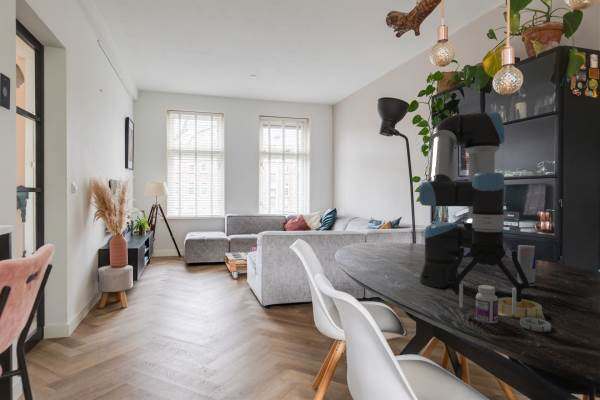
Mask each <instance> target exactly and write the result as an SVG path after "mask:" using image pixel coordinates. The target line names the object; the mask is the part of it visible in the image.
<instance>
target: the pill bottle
mask: <svg viewBox="0 0 600 400" xmlns="http://www.w3.org/2000/svg"><path fill="white" fill-rule="evenodd" d="M495 293H496V287H495V286H492V285H489V284H488V285H487V284H485V285H484V284H481V285H478V292H477V294H476V295H475V320H477V321H479V322H482V323H487V324H496V323H498V322H499V315H498V299H499V298H498V296H497V294H495Z"/></svg>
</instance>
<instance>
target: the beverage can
mask: <svg viewBox="0 0 600 400" xmlns="http://www.w3.org/2000/svg"><path fill="white" fill-rule="evenodd" d="M517 257H518V261H519V264H520V266H521V268H522V270H523V272H524V274H525V276H526V278H527V280H528V283H529V285H530V287H534V286H535V285H536V246H535V245H529V244H528V245H527V244H519V245H517ZM517 281H518V282H519V283H523V282H522V280H521V278H520V276H519V274H518V273H517Z"/></svg>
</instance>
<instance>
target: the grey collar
mask: <svg viewBox="0 0 600 400" xmlns="http://www.w3.org/2000/svg"><path fill="white" fill-rule="evenodd" d="M545 320H546V319H545ZM545 320H542V319H538V318H530V317H529V318H528V317H525V318H519V322H520V324H519V325H520V327H521V328H524V329H527V330H529V331H534V332H539V333H541V332H543V333H546V332H551V331H552V325H551V322H549V321H548V320H546V321H545Z"/></svg>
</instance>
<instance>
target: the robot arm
mask: <svg viewBox="0 0 600 400" xmlns="http://www.w3.org/2000/svg"><path fill="white" fill-rule="evenodd" d="M504 142H505V128H504V121H503V118H502V115H501V114H500V113H499V112H497V111H488V112H487V111H485V112H475V113H464V114H454V115H451V116H448V117H446V118H444V119H443V120H441V121H440V122H438V124H436V125H435V127H434V128H433V129H432V130H431V133H430V136H429V141H428V143H429V147H430V148H431V150H430V158H429V159H430V160H429V167H428V175H427V181H424V182H421V183H420V184H419V196H418V197H419V204H421V205H422V206H427V207H428V206H429V207H468V209H467V210H468V214H467V215H468V217H467V219H465V220H464V221H463V226H459V224H458V223H457V222H444V223H443V222H442V223H434V224H429V225H427V226H426V227H425V230H424V231H425V232H424V263H423V266H422V269H421V272H420V275H419V282H420V283H421V284H422V285H424V286H427V287H433V288H437V289H438V288H439V289H449V287H451V288H454V294H455V295H458V296H459V297H458V300H459V302H458V306H459V307H458V308H463V306H464V305H463V304H464V282H463V279H464V278H465V277H466V276H467V275H468V274H469V273H470V271H471V270H472V269H473V268H474V267H476V266H477V264H480V265H481V266H482V265H483V266H484V265H488V266H495V265H497V266H498V268H499V269H500V270H501V272H502V273H503V274H504V275H505V276H506V278H507V279H508V280H509V281H510V282H511V284H512V285H513V286H514V287H511V288H512V289H511V290H512V292H511V295H512V297H511V298H512V314H513V315H516V302H521V299H522V290H525V289H530V287H531V286H530V285H529V283H528V280H527V278H526V276H525V274H524V272H523V270H522V268H521V266H520V264H519V261H518V250H516V249H511V250H505V248H504V240H505V239H504V233H505V231H504V226H505V225H504V223H505V221H504V219H505V218H504V217H505V215H504V202H505V200H504V199H505V186H506V184H505V179H504V178H505V176H504V174H503V173H502V172H496V169H495V166H496V165H495V164H496V162H495V161H496V159H495V158H496V157H495V156H496V155H495V154H496V153H497V152H498V150H500V145H503V144H504ZM456 146H463V147H464V152H465V153H467V154H468V181H454V160H455V159H454V154H455V152H454V151H455V148H456ZM505 256H507V257H508V259H510V260H512V263H513V266H514V267H515V269H516V271H517V272H516V273H517V275H518V274H519V276H520V278H521V280H522V282H523V283H519V282H518V279H517V278H516V277H515V276H514V275H513V273H512V271H510V269H509V268H508V267H507V266H506V265H505V263H504V261H502V259H503V258H504V257H505ZM463 259H472V260H470V262H469V263H468V264H467V265H466V266H465V267H464V268H463V270H462V271H460V269H459V267H460V264H461V263H462V261H463Z"/></svg>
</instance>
